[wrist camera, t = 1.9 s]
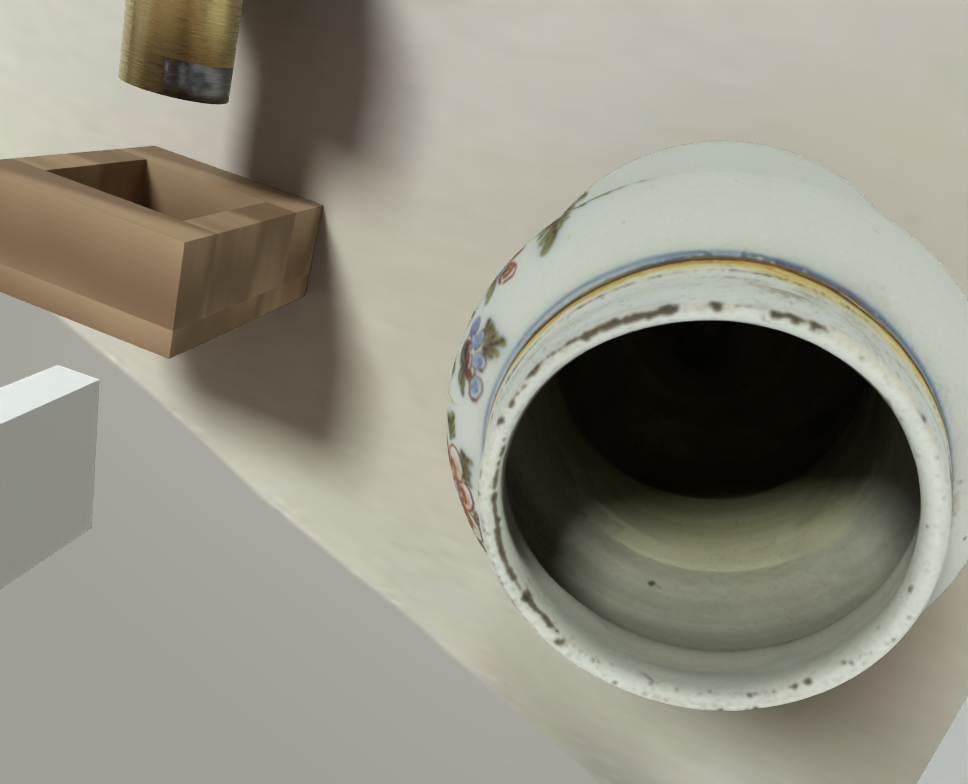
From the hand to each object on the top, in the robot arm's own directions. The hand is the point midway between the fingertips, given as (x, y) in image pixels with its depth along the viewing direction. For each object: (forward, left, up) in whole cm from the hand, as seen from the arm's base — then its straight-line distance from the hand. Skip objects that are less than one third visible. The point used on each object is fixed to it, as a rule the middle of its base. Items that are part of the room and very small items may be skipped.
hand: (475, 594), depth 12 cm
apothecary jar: (0, +3, -22) cm, 22 cm away
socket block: (+3, -17, -22) cm, 28 cm away
